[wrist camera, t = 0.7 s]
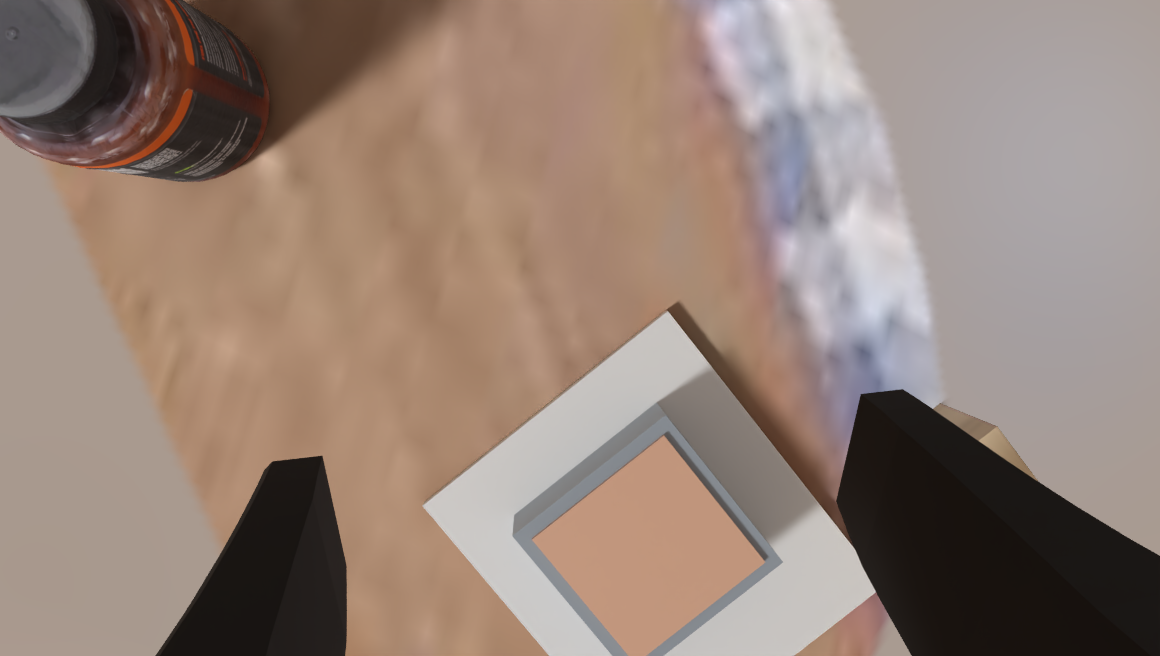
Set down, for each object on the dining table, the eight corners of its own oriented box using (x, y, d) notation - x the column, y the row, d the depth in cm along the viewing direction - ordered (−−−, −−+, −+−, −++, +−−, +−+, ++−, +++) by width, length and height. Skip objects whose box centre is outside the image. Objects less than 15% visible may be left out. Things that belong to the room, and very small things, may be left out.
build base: (878, 581, 36) (911, 614, 33) (644, 763, 36) (654, 813, 33) (666, 310, 34) (678, 316, 31) (424, 501, 35) (412, 528, 32)
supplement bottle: (163, -13, 32) (-36, -148, 21) (305, 79, 33) (184, -5, 22) (80, 127, 33) (-161, 67, 22) (221, 215, 33) (59, 202, 22)
